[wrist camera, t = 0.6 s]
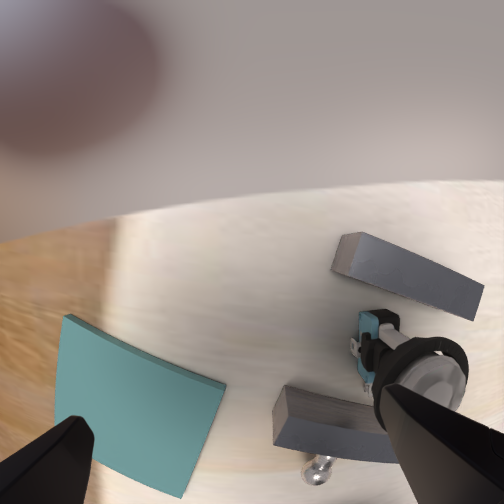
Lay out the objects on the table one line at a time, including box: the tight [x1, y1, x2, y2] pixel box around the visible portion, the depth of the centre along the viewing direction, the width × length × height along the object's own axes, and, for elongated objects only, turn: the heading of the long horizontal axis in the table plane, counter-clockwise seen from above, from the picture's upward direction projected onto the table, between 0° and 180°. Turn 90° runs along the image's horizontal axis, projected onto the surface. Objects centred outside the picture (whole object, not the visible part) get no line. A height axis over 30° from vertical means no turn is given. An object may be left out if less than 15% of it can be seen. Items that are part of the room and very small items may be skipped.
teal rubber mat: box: [55, 314, 226, 499], centre depth 20 cm, size 14×14×1 cm
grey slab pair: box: [272, 232, 484, 486], centre depth 18 cm, size 10×19×4 cm, turn 160°
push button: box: [351, 309, 469, 432], centre depth 15 cm, size 7×5×10 cm
